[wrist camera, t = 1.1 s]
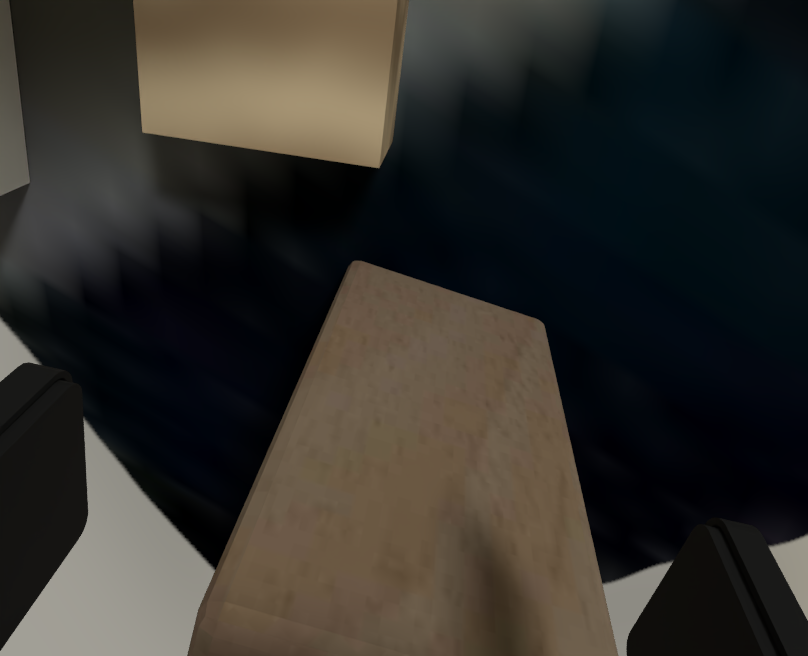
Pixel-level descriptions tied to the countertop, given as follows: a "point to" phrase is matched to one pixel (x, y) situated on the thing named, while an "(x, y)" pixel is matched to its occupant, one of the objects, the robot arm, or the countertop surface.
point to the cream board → (10, 111)
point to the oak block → (273, 74)
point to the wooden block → (414, 494)
